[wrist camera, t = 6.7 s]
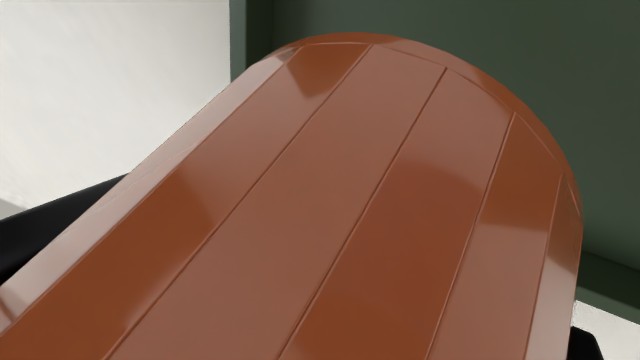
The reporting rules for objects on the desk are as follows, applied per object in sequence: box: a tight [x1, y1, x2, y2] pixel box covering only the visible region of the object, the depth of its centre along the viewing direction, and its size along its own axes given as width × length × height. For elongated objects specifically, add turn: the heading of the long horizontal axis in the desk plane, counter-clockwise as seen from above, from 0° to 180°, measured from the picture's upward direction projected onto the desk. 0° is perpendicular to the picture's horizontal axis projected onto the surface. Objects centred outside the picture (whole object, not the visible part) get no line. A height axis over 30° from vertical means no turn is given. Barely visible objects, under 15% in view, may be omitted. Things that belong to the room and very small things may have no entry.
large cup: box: [0, 32, 584, 360], centre depth 9 cm, size 7×7×7 cm
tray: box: [229, 0, 640, 325], centre depth 15 cm, size 15×12×2 cm
